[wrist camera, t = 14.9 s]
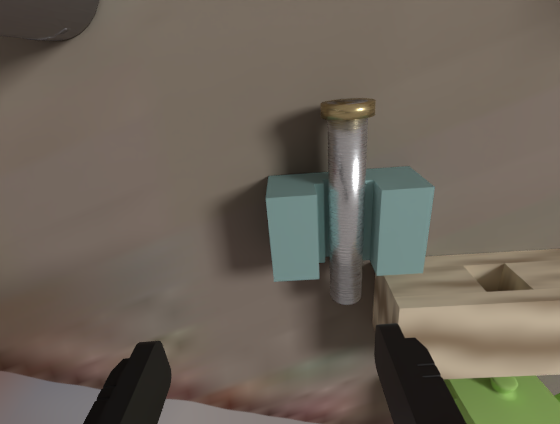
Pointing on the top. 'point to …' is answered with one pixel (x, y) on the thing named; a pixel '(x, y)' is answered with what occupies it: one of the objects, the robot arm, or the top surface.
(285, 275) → the v block
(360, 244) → the axle
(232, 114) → the top surface
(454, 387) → the green cube pot
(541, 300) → the beam
